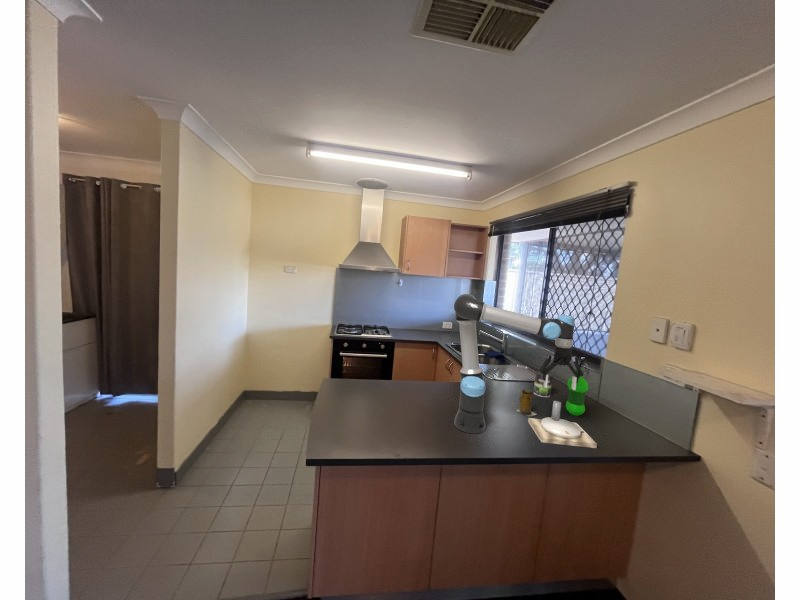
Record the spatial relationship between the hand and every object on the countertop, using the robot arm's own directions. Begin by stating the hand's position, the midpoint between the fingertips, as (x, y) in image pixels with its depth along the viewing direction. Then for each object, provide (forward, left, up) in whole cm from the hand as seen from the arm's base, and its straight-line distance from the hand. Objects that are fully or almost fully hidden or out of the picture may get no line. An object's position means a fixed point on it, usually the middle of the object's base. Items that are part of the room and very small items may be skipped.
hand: (559, 388), depth 156 cm
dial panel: (0, -6, -21) cm, 22 cm away
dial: (0, -6, -18) cm, 19 cm away
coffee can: (+9, +46, -21) cm, 51 cm away
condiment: (-10, +15, -21) cm, 27 cm away
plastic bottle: (+18, +20, -21) cm, 34 cm away
